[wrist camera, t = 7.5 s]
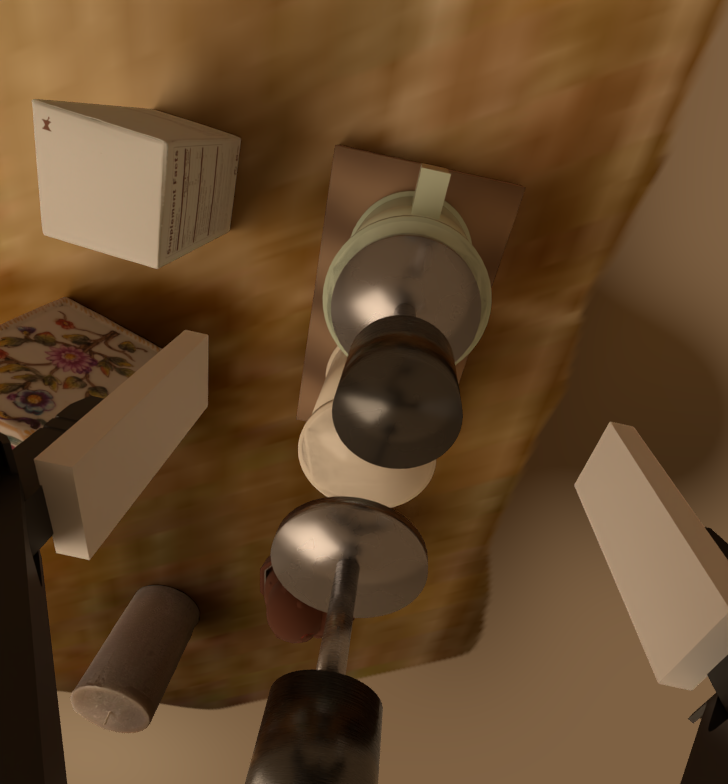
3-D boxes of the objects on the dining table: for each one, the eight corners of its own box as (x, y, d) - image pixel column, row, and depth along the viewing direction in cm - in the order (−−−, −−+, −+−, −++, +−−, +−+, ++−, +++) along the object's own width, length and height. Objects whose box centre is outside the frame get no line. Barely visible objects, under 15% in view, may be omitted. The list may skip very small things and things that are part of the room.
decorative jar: (40, 383, 48) (-141, 502, 33) (62, 291, 43) (-143, 381, 27) (147, 436, 50) (24, 572, 35) (181, 355, 45) (53, 473, 29)
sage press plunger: (455, 386, 27) (475, 525, 17) (323, 357, 27) (270, 480, 17) (500, 251, 23) (559, 335, 14) (346, 217, 23) (293, 276, 13)
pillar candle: (212, 624, 66) (160, 743, 53) (156, 632, 68) (93, 748, 55) (178, 578, 62) (113, 695, 49) (120, 588, 64) (43, 703, 51)
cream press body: (336, 316, 39) (306, 381, 29) (445, 340, 39) (455, 414, 29) (317, 426, 45) (286, 514, 34) (412, 447, 45) (411, 541, 34)
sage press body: (451, 325, 38) (463, 396, 28) (339, 301, 38) (310, 362, 28) (497, 176, 33) (534, 195, 22) (366, 147, 33) (341, 152, 22)
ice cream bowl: (283, 546, 56) (242, 669, 43) (285, 475, 51) (240, 593, 38) (368, 559, 56) (353, 688, 43) (380, 490, 50) (367, 614, 37)
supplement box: (146, 206, 38) (36, 235, 27) (150, 105, 34) (25, 92, 24) (232, 234, 39) (157, 273, 28) (245, 137, 35) (166, 138, 24)
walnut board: (338, 144, 34) (334, 145, 33) (520, 185, 34) (525, 187, 33) (300, 409, 46) (296, 419, 45) (435, 439, 46) (436, 450, 45)
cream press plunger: (283, 480, 22) (174, 755, 12) (446, 516, 22) (467, 820, 12) (268, 587, 26) (178, 858, 16) (406, 617, 26) (399, 907, 16)
